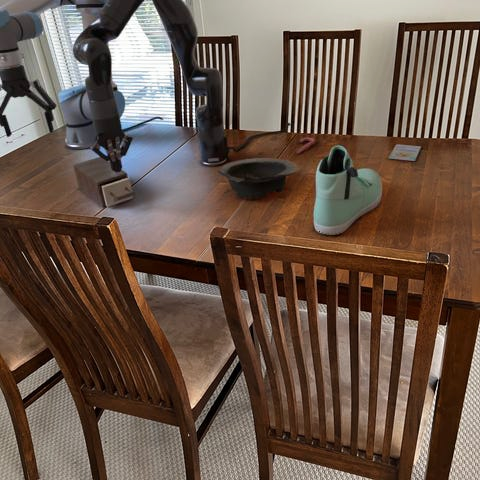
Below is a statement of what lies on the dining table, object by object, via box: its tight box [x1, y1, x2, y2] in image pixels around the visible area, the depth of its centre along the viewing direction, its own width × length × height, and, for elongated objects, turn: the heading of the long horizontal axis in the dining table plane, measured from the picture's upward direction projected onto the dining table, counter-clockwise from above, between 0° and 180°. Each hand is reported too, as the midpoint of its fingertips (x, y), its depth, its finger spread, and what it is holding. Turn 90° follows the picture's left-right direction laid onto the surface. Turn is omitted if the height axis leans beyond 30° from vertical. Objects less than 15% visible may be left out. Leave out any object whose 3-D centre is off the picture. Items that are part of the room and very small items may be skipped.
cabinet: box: [72, 156, 129, 208], centre depth 158 cm, size 20×10×8 cm, turn 37°
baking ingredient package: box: [388, 143, 422, 162], centre depth 171 cm, size 9×1×15 cm
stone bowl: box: [217, 157, 299, 201], centre depth 152 cm, size 25×25×9 cm
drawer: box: [100, 177, 136, 208], centre depth 154 cm, size 25×9×7 cm, turn 37°
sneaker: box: [313, 145, 383, 236], centre depth 133 cm, size 14×35×20 cm, turn 152°
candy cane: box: [295, 136, 316, 155], centre depth 183 cm, size 6×15×2 cm, turn 145°
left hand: (30, 133), depth 157 cm, fingers open, 13 cm apart
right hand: (117, 171), depth 143 cm, fingers closed
